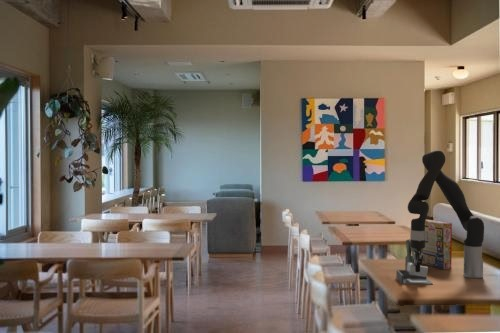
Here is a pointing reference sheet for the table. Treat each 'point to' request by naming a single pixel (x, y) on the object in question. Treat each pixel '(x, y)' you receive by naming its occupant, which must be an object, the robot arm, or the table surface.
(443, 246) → the board game box
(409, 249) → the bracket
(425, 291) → the table surface
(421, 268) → the l bracket
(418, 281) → the grey l-shaped slot base
